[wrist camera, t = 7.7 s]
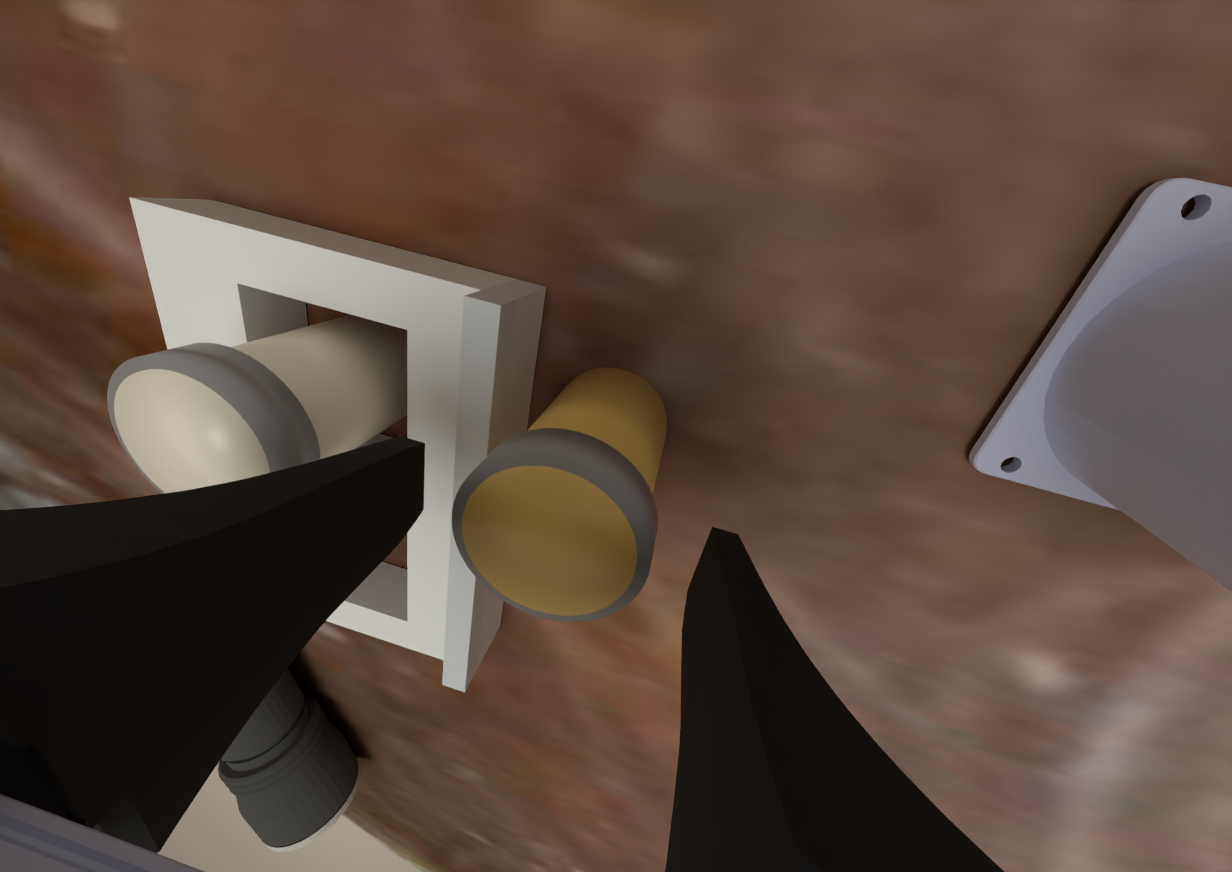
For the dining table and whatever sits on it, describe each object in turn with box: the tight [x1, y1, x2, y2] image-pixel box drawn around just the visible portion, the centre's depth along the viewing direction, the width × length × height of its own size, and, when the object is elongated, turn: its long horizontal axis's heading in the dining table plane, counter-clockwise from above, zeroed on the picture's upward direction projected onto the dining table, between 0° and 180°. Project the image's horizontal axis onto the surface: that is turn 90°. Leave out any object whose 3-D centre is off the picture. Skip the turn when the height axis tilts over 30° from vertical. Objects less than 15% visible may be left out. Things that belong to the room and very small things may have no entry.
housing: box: [129, 197, 546, 692], centre depth 17 cm, size 12×16×4 cm
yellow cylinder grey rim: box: [452, 367, 668, 622], centre depth 13 cm, size 5×5×7 cm
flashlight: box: [218, 668, 361, 852], centre depth 25 cm, size 15×5×5 cm, turn 10°
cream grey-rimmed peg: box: [107, 315, 407, 494], centre depth 14 cm, size 5×5×7 cm
